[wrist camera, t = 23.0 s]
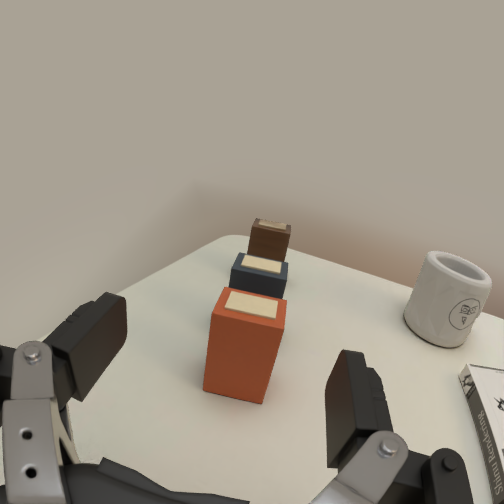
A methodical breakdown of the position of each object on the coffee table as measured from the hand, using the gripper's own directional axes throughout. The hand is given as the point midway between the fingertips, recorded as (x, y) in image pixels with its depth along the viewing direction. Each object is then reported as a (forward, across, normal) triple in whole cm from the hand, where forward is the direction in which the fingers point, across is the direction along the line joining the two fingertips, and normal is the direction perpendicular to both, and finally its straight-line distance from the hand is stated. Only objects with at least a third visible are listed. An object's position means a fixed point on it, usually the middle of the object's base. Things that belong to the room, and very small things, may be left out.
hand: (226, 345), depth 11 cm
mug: (+27, -28, +13) cm, 41 cm away
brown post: (+32, 0, +13) cm, 34 cm away
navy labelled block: (+18, 0, +13) cm, 23 cm away
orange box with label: (+11, 0, +13) cm, 17 cm away
